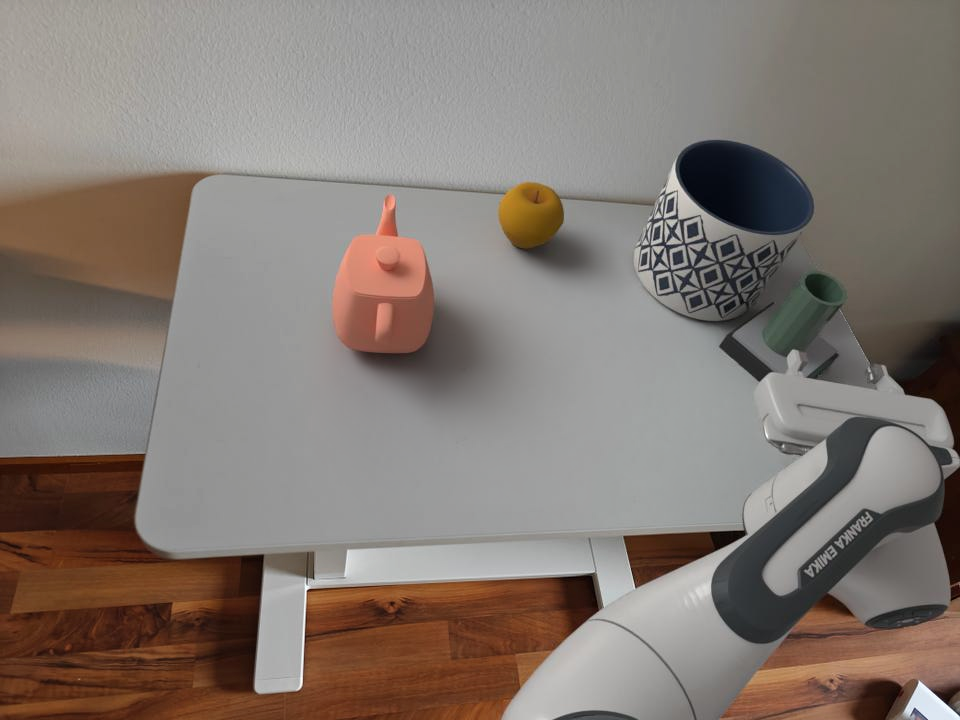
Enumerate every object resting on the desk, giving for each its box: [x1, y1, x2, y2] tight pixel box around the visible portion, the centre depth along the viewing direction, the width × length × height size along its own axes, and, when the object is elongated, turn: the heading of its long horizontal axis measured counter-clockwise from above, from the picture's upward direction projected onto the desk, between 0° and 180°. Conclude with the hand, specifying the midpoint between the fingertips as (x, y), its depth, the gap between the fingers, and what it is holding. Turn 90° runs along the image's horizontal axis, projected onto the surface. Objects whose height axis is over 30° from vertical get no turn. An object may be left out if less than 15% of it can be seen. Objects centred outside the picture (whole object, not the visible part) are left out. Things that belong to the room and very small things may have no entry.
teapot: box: [331, 193, 435, 354], centre depth 85 cm, size 20×12×12 cm, turn 3°
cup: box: [762, 270, 848, 357], centre depth 90 cm, size 6×6×10 cm
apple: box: [497, 181, 565, 250], centre depth 99 cm, size 9×9×9 cm
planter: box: [632, 139, 815, 322], centre depth 97 cm, size 18×18×16 cm
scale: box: [718, 301, 840, 383], centre depth 95 cm, size 11×11×3 cm
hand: (835, 360), depth 83 cm, fingers open, 8 cm apart
